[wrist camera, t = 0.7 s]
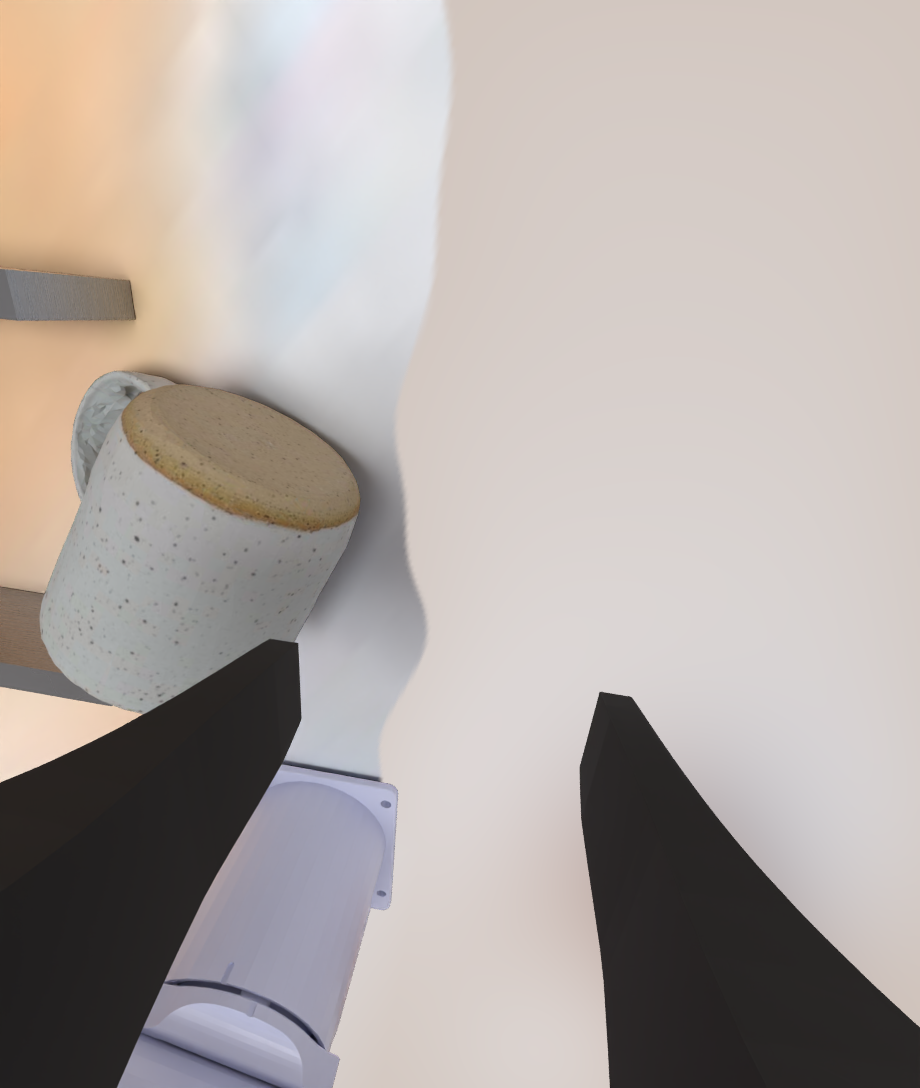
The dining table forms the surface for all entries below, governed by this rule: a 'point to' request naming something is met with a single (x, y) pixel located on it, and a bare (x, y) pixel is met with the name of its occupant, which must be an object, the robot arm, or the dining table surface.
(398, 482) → the dining table surface
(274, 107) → the dining table surface
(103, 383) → the ceramic mug
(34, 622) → the grey u-shaped piece
